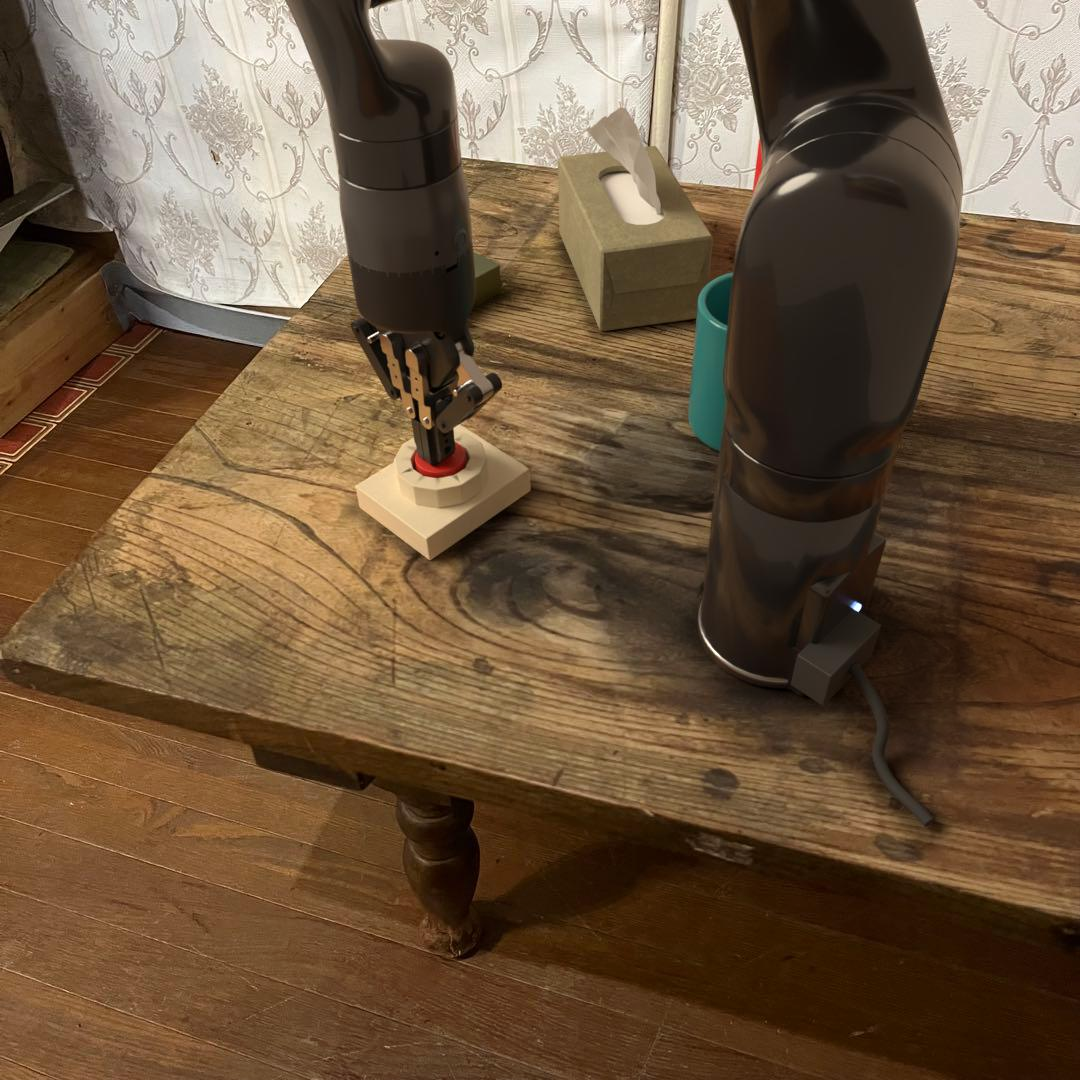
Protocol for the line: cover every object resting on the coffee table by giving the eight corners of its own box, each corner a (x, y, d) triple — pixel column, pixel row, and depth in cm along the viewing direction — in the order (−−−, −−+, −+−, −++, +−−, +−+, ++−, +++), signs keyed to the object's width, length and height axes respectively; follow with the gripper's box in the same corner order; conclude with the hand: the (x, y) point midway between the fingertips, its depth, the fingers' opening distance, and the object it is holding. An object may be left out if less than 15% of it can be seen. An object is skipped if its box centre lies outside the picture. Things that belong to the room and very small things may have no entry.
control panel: (502, 292, 97) (500, 262, 95) (436, 329, 93) (433, 298, 91) (432, 256, 102) (429, 226, 100) (367, 289, 98) (362, 259, 96)
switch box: (531, 490, 77) (529, 449, 74) (429, 561, 72) (423, 520, 70) (459, 444, 81) (455, 403, 79) (359, 507, 77) (350, 466, 74)
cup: (702, 491, 77) (715, 366, 69) (679, 393, 85) (689, 271, 77) (823, 484, 77) (851, 359, 69) (788, 387, 85) (810, 265, 77)
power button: (477, 473, 75) (475, 454, 74) (440, 497, 73) (437, 479, 72) (444, 451, 77) (442, 433, 76) (407, 474, 75) (404, 456, 74)
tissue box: (558, 232, 105) (555, 71, 93) (652, 220, 106) (659, 60, 95) (601, 334, 91) (603, 162, 80) (707, 320, 93) (723, 148, 81)
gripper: (291, 221, 63) (337, 441, 75) (435, 301, 56) (460, 528, 69) (386, 179, 67) (416, 395, 79) (531, 249, 60) (539, 473, 72)
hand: (436, 456), depth 74 cm, fingers closed
